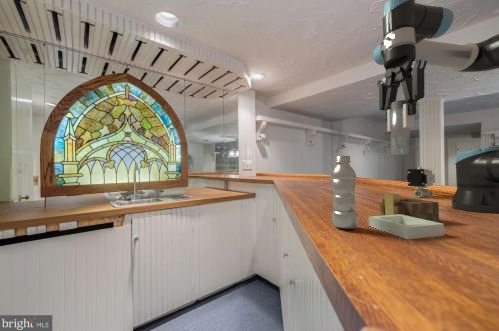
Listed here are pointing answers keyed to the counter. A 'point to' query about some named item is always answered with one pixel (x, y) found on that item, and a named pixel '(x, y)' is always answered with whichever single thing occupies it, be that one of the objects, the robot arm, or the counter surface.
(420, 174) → the ball valve
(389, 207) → the brass block
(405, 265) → the counter surface
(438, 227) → the tray
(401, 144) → the grey metal peg
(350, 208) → the plastic bottle
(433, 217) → the socket block
